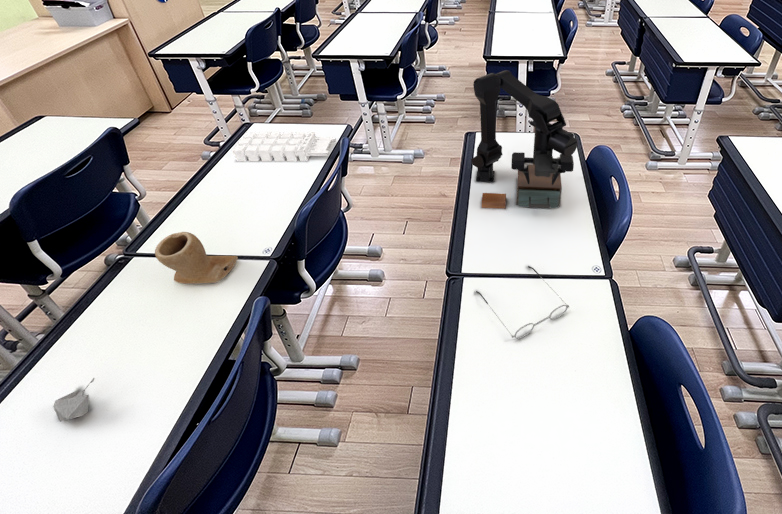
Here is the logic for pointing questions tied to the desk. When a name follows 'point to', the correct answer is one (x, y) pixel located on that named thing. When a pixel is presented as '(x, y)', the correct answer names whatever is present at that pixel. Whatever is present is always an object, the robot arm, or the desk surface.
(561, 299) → the eyeglasses
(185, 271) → the clay pipe
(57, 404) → the grey faceted ornament
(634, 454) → the desk surface
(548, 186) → the cabinet
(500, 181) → the desk surface
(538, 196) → the drawer
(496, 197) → the brown rectangular box
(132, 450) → the desk surface
